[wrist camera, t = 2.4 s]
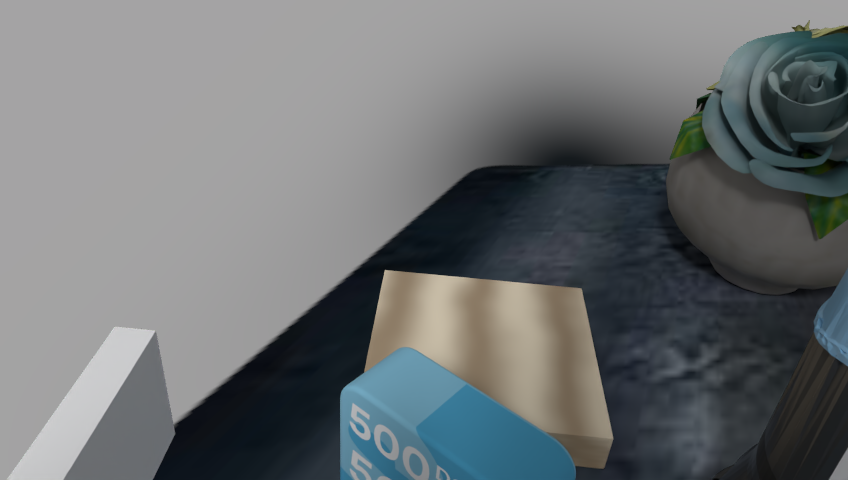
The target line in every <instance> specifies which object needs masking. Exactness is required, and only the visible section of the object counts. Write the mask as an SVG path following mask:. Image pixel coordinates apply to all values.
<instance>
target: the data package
mask: <svg viewBox="0 0 848 480" xmlns="http://www.w3.org/2000/svg"><path fill="white" fill-rule="evenodd" d="M575 478H576V468H575V464H574V462H573V459H572V457H571V455H570V454H569V452H568V451H567V450H566V448H565V447H564V446H563V445H562V444H561V443H560V442H559V441H558V440H557V439H555V438H554V437H552V436H551V435H549V434H548V433H546V432H544V431H543V430H541V429H540V428H538V427H537V426H535V425H533V424H532V423H530V422H529V421H527V420H526V419H524V418H522V417H521V416H519V415H518V414H516V413H515V412H513V411H511V410H510V409H508V408H507V407H505V406H504V405H502V404H500V403H499V402H497V401H496V400H494V399H493V398H491V397H489V396H488V395H486V394H485V393H483V392H482V391H480V390H478V389H477V388H475V387H474V386H472V385H471V384H469V383H467V382H466V381H464V380H463V379H461V378H460V377H458V376H456V375H455V374H453V373H452V372H450V371H449V370H447V369H445V368H444V367H442V366H441V365H439V364H438V363H436V362H434V361H433V360H431V359H430V358H428V357H427V356H425V355H423V354H422V353H420V352H419V351H417V350H415V349H413V348H410V347H402V348H399V349H397V350H396V351H394V352H393V353H391V354H390V355H389V356H387V357H386V358H384V359H383V360H382V361H380V362H379V363H377V364H376V365H375V366H373V367H372V368H370V369H369V370H368V371H366V372H365V373H363V374H362V375H361V376H359V377H358V378H356V379H355V380H354V381H352V382H351V383H349V384H348V385H347V386H345V387H344V389H343V390H342V392H341V396H340V480H575Z"/></svg>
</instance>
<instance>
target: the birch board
mask: <svg viewBox="0 0 848 480" xmlns="http://www.w3.org/2000/svg"><path fill="white" fill-rule="evenodd" d="M402 347H410V348H413V349H415V350H417V351H419V352H420V353H422V354H423V355H425V356H427V357H428V358H430V359H431V360H433V361H434V362H436V363H438V364H439V365H441V366H442V367H444V368H445V369H447V370H449V371H450V372H452V373H453V374H455V375H456V376H458V377H460V378H461V379H463V380H464V381H466V382H467V383H469V384H471V385H472V386H474V387H475V388H477V389H478V390H480V391H482V392H483V393H485V394H486V395H488V396H489V397H491V398H493V399H494V400H496V401H497V402H499V403H500V404H502V405H504V406H505V407H507V408H508V409H510V410H511V411H513V412H515V413H516V414H518V415H519V416H521V417H522V418H524V419H526V420H527V421H529V422H530V423H532V424H533V425H535V426H537V427H538V428H540V429H541V430H543V431H544V432H546V433H548V434H549V435H551V436H552V437H554V438H555V439H557V440H558V441H559V442H560V443H561V444H562V445H563V446H564V447H565V448H566V450H567V451H568V452H569V454H570V455H571V457H572V459H573V462H574V464H575V466H580V467H590V468H600V469H604V467H605V464H606V461H607V458H608V454H609V451H610V448H611V445H612V442H613V434H612V430H611V425H610V420H609V415H608V411H607V406H606V401H605V397H604V392H603V387H602V383H601V378H600V373H599V368H598V364H597V359H596V354H595V350H594V345H593V340H592V335H591V331H590V326H589V321H588V317H587V312H586V307H585V303H584V298H583V293H582V289H581V288H570V287H560V286H549V285H538V284H528V283H517V282H506V281H495V280H485V279H474V278H463V277H453V276H442V275H431V274H421V273H410V272H399V271H388V270H385V272H384V277H383V282H382V287H381V292H380V297H379V302H378V307H377V312H376V317H375V322H374V327H373V332H372V337H371V341H370V346H369V351H368V356H367V361H366V366H365V371H364V373H365V372H366V371H368V370H369V369H370V368H372V367H373V366H375V365H376V364H377V363H379V362H380V361H382V360H383V359H384V358H386V357H387V356H389V355H390V354H391V353H393V352H394V351H396V350H397V349H399V348H402Z"/></svg>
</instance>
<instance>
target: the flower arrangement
mask: <svg viewBox="0 0 848 480" xmlns="http://www.w3.org/2000/svg"><path fill="white" fill-rule="evenodd" d="M809 23H810V21H809V22H808V23H807V25H806V26H805V27H802V26H800V25H798V26H796V27H792V28H793V29H794V30H795V32H789V33H782V34H776V35H771V36H766V37H762V38H758V39H755V40H753V41H750V42H747V43H746V44H744V45H743V46H741V47H740V48H738V49H737V50H736V51H735V52H734V53H733V54H732V55H731V56H730V57H729V59H728V61H727V62H726V64H725V66H724V68H723V72H722V75H721V78H720V81H718V82H717V83H715V84H714V85H712V86H710V87H708V88H707V90H714V91H713V92H712V93H709V94H707V95H705V96H703V97H700V98H698V99H697V107H696V111H695V112H694V113H693V114H692V115H691V117H689V118H688V119H686V120H684V121H683V124H682V126H681V129H680V132H679V134H678V137H677V140H676V143H675V146H674V148H673V151H672V154H671V157H670V160H671V163H670V167H669V171H668V175H667V178H666V186H667V197H668V208H669V210H670V212H671V214H672V216H673V218H674V220H675V222H676V224H677V226H678V228H679V229H680V230H681V232H682V233H683V234H684V235H685V236H686V237H687V239H688V240H689V241H690V242H691V243H692V244H693V245H694V246H695V247H696V248H698V249H699V250H700V251H701V252H702V253H704V254H705V255H706V256H707V257H709V260H710V261H711V263H712V265H713V267H714V269H715V271H716V272H717V273H719V274H720V275H721V276H722V277H723V278H724V279H726V280H727V281H729V282H731V283H733V284H735V285H737V286H739V287H741V288H743V289H746V290H750V291H753V292H756V293H760V294H770V295H780V294H785V293H790V292H793V291H795V290H797V289H798V288H802V289H820V288H826V287H832V286H838V284H839V282H840V280H841V279H842V277H843V275H844V274H845V272H846V270H847V268H848V26H839V27H836V28H824V29H821V30H820V29H813V30H809Z"/></svg>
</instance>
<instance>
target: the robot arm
mask: <svg viewBox="0 0 848 480" xmlns="http://www.w3.org/2000/svg"><path fill="white" fill-rule="evenodd" d="M814 325H815V326H814V332H813V334H812V336H811V339H810V341H809V343H808V345H807V347H806V349H805V351H804V353H803V355H802V357H801V359H800V361H799V363H798V365H797V367H796V369H795V372H794V374H793V376H792V378H791V380H790V382H789V384H788V386H787V388H786V389H785V391H784V393H783V395H782V397H781V399H780V401H779V403H778V405H777V407H776V409H775V411H774V413H773V415H772V417H771V419H770V421H769V423H768V425H767V427H766V429H765V431H764V433H763V435H762V437H761V439H760V441H759V443H758V444H756V445H755V446H754V447H752V448H751V449H750V450H748V451H747V452H746V453H745V454H744V455H742V456H741V457H740V458H739V459H738V461H737V462H736V464H734V465H732V466H729V467H728V468H726V469H724V470H722V471H721V472H719V473H718V474H716V475H715V476H714V477H713V478H711V479H710V480H848V268H847V270H846V272H845V274H844V275H843V277H842V279H841V280H840V282H839V284H838V286H837V287H836V289H835V291H834V293H833V294H832V296H831V297H830V298H829V299H828V300H827V301H826V302H825V303H824V304H823V305H822V306H821V307H820V308H819V310H818V312H817V314H816V317H815V319H814ZM174 435H175V431H174V425H173V420H172V415H171V409H170V404H169V399H168V393H167V388H166V383H165V378H164V372H163V367H162V361H161V357H160V351H159V345H158V340H157V335H156V331H153V330H143V329H132V328H123V327H114V329H113V330H112V331H111V333H110V334H109V336H108V337H107V339H106V340H105V341H104V343H103V344H102V346H101V347H100V348H99V350H98V351H97V353H96V354H95V356H94V357H93V358H92V360H91V361H90V363H89V364H88V365H87V367H86V368H85V370H84V371H83V373H82V374H81V375H80V377H79V378H78V380H77V381H76V382H75V384H74V385H73V387H72V388H71V390H70V391H69V392H68V394H67V395H66V397H65V398H64V400H63V401H62V402H61V404H60V405H59V407H58V408H57V409H56V411H55V412H54V414H53V415H52V417H51V418H50V419H49V421H48V422H47V424H46V425H45V426H44V428H43V429H42V431H41V432H40V434H39V435H38V436H37V438H36V439H35V441H34V442H33V443H32V445H31V446H30V448H29V449H28V451H27V452H26V453H25V455H24V456H23V458H22V459H21V461H20V462H19V463H18V465H17V466H16V468H15V469H14V471H13V472H12V473H11V475H10V476H9V477H8V479H7V480H153V478H154V476H155V474H156V472H157V470H158V467H159V465H160V463H161V461H162V459H163V457H164V455H165V453H166V451H167V449H168V447H169V445H170V443H171V441H172V439H173V437H174Z"/></svg>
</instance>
